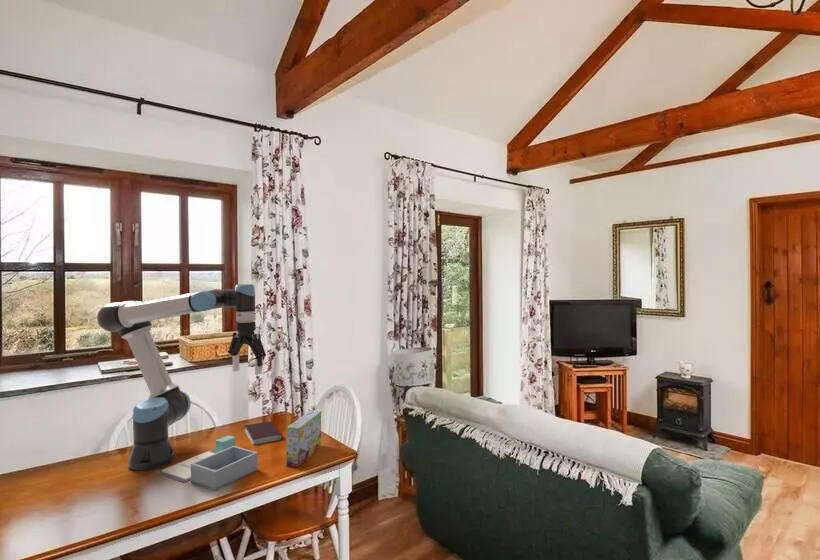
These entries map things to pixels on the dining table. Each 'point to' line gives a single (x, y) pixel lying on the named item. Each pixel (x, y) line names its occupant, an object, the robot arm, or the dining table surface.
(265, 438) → the book
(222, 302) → the robot arm
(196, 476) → the tub
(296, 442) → the snack box
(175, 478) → the mat
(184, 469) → the lid
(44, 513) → the dining table surface
